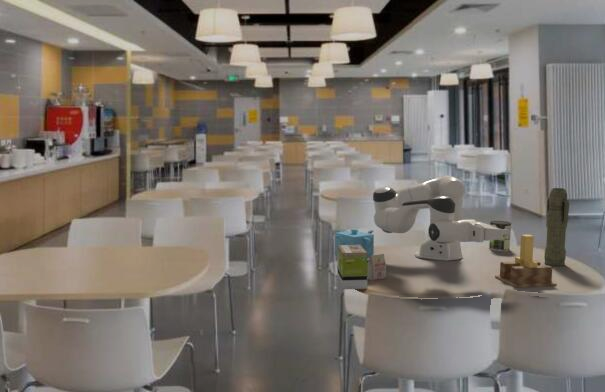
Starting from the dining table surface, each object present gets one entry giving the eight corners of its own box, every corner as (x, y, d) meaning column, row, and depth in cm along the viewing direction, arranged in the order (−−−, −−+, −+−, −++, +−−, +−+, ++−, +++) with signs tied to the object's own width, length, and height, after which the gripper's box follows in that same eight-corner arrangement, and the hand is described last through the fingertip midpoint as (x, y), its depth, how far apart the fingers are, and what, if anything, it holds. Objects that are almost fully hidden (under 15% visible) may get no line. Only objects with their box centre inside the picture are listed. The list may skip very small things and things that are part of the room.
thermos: (558, 268, 272) (563, 190, 268) (537, 262, 282) (541, 187, 278) (572, 266, 276) (576, 189, 272) (550, 260, 286) (554, 186, 282)
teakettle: (373, 265, 276) (373, 233, 274) (331, 263, 278) (332, 231, 276) (373, 256, 294) (374, 226, 293) (335, 254, 297) (335, 225, 295)
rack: (515, 287, 239) (515, 269, 238) (495, 277, 254) (495, 261, 253) (556, 285, 242) (557, 268, 241) (534, 275, 257) (535, 259, 257)
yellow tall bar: (528, 280, 242) (530, 238, 240) (514, 273, 253) (516, 233, 251) (536, 279, 243) (538, 237, 241) (522, 273, 253) (524, 233, 251)
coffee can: (494, 251, 307) (495, 224, 306) (485, 247, 317) (486, 220, 316) (513, 251, 308) (514, 223, 307) (504, 247, 319) (505, 220, 317)
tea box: (336, 279, 249) (337, 244, 247) (360, 279, 249) (361, 244, 248) (342, 289, 234) (342, 252, 232) (367, 289, 235) (368, 251, 233)
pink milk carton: (366, 278, 251) (367, 254, 250) (380, 276, 255) (381, 253, 253) (371, 280, 248) (372, 256, 247) (385, 278, 251) (386, 254, 250)
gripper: (458, 233, 252) (489, 232, 255) (481, 243, 232) (514, 241, 235) (458, 218, 252) (489, 217, 254) (482, 227, 232) (515, 225, 234)
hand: (502, 229), depth 244 cm, fingers open, 8 cm apart
